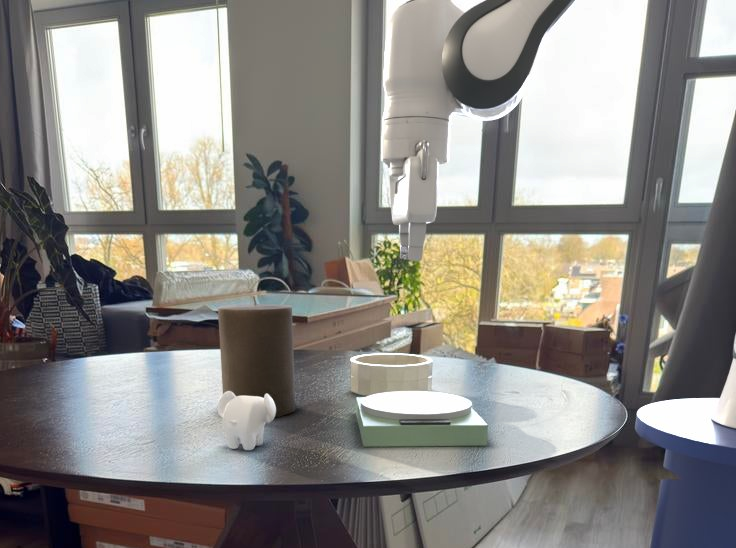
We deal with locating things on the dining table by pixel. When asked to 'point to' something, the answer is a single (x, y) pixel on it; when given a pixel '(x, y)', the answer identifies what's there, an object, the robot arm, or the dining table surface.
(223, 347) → the pillar candle
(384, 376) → the bowl
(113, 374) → the dining table surface
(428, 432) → the scale
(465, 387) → the dining table surface
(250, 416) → the elephant figurine
